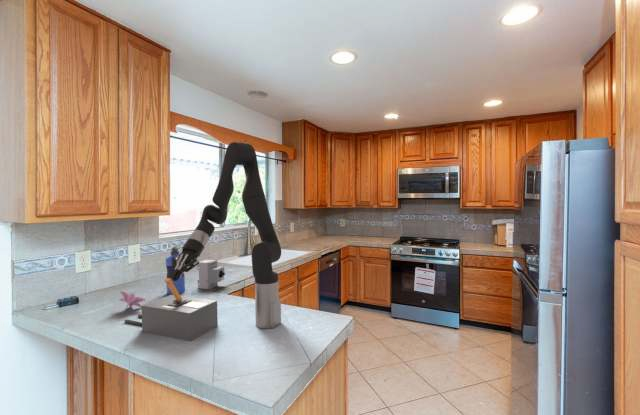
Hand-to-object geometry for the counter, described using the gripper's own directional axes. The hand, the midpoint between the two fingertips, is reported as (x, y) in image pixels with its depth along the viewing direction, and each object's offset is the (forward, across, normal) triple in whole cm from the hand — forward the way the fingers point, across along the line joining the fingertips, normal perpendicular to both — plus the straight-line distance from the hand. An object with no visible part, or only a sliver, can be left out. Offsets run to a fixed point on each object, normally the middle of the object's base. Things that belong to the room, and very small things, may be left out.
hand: (173, 280), depth 113 cm
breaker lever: (+4, 0, +8) cm, 9 cm away
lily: (+6, -38, +22) cm, 44 cm away
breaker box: (+12, -8, +16) cm, 21 cm away
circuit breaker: (-24, -28, +52) cm, 63 cm away
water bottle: (-13, -40, +41) cm, 59 cm away
